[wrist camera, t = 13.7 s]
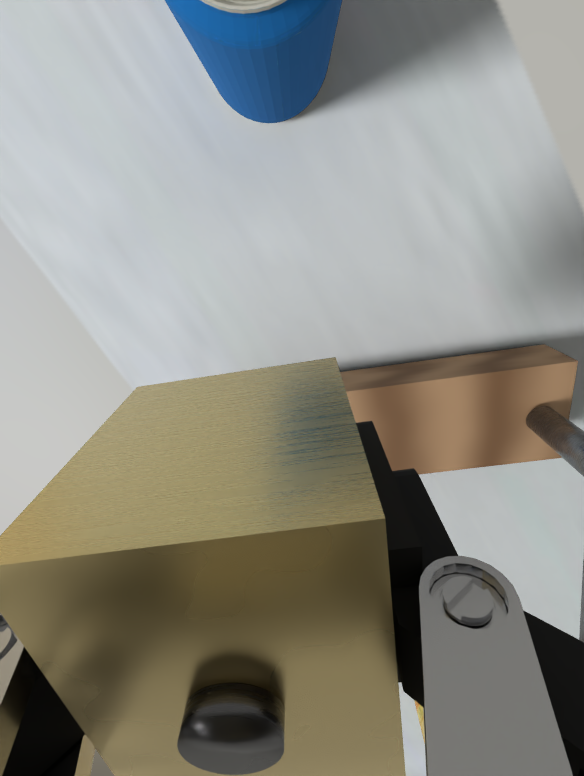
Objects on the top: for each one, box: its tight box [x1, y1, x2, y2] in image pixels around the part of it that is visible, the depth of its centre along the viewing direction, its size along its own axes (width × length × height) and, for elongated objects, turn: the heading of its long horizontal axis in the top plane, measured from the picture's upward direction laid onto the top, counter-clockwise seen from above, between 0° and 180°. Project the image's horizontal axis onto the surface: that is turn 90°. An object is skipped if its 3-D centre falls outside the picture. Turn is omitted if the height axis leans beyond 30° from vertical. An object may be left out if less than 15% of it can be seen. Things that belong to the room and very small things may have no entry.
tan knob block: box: [0, 357, 406, 776], centre depth 7 cm, size 5×6×5 cm
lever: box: [526, 406, 584, 642], centre depth 23 cm, size 16×2×8 cm, turn 15°
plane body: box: [340, 344, 578, 474], centre depth 27 cm, size 23×7×4 cm, turn 99°
